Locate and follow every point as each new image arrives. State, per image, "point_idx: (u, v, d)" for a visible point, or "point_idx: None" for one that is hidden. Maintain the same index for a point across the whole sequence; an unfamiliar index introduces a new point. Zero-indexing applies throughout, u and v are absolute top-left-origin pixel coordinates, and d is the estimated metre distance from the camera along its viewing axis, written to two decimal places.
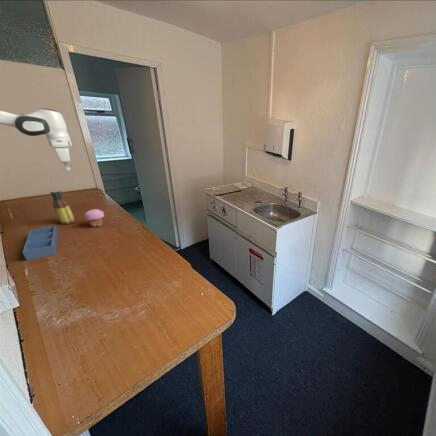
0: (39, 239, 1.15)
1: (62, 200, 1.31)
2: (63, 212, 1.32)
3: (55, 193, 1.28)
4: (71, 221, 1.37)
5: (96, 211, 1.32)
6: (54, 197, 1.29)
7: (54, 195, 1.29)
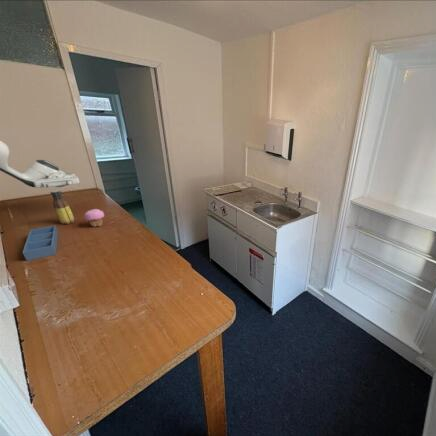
0: (39, 239, 1.15)
1: (62, 200, 1.31)
2: (63, 212, 1.32)
3: (55, 193, 1.28)
4: (71, 221, 1.37)
5: (96, 211, 1.32)
6: (54, 197, 1.29)
7: (54, 195, 1.29)
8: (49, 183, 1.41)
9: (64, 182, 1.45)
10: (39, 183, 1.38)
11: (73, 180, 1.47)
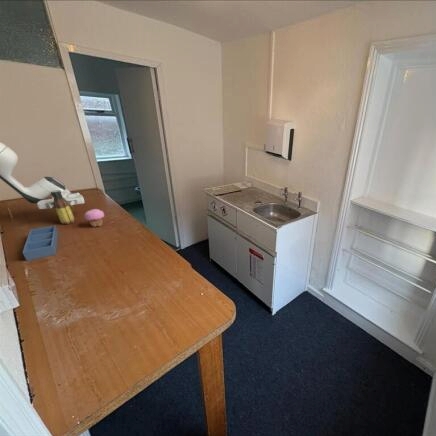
0: (39, 239, 1.15)
1: (62, 200, 1.31)
2: (63, 212, 1.32)
3: (55, 193, 1.28)
4: (71, 221, 1.37)
5: (96, 211, 1.32)
6: (54, 197, 1.29)
7: (54, 195, 1.29)
8: (53, 204, 1.34)
9: (68, 202, 1.38)
10: (42, 204, 1.31)
11: (78, 200, 1.40)
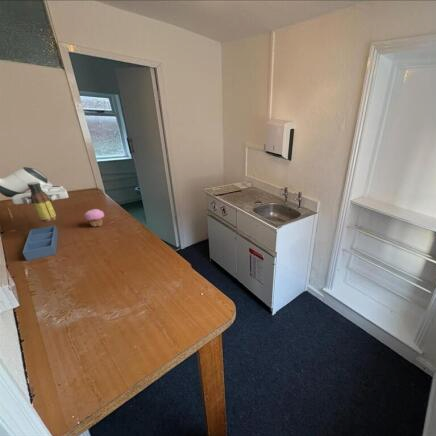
0: (39, 239, 1.15)
1: (41, 194, 1.14)
2: (43, 207, 1.15)
3: (33, 185, 1.11)
4: (52, 218, 1.19)
5: (96, 211, 1.32)
6: (32, 190, 1.12)
7: (32, 188, 1.11)
8: None
9: (50, 197, 1.21)
10: (18, 199, 1.13)
11: (61, 194, 1.23)
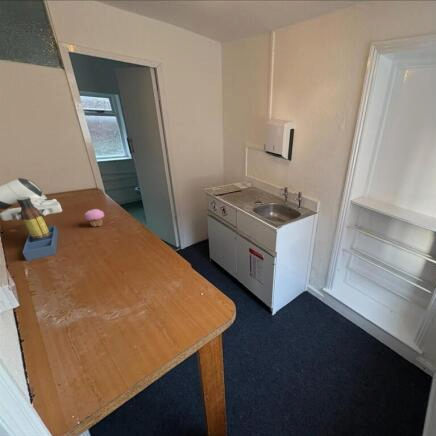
0: (39, 239, 1.15)
1: (32, 209, 1.06)
2: (34, 224, 1.07)
3: (23, 201, 1.03)
4: (45, 235, 1.11)
5: (96, 211, 1.32)
6: (22, 206, 1.04)
7: (21, 203, 1.03)
8: None
9: (42, 211, 1.13)
10: (7, 215, 1.05)
11: (53, 208, 1.15)
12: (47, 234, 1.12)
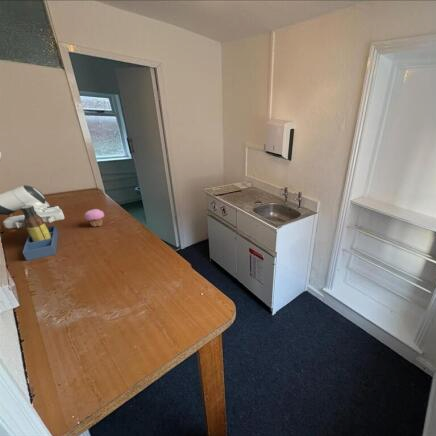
0: None
1: (36, 217, 1.08)
2: (37, 232, 1.09)
3: (26, 209, 1.05)
4: None
5: (96, 211, 1.32)
6: (25, 214, 1.05)
7: (25, 212, 1.05)
8: None
9: (44, 219, 1.14)
10: (10, 222, 1.07)
11: (56, 216, 1.16)
12: None
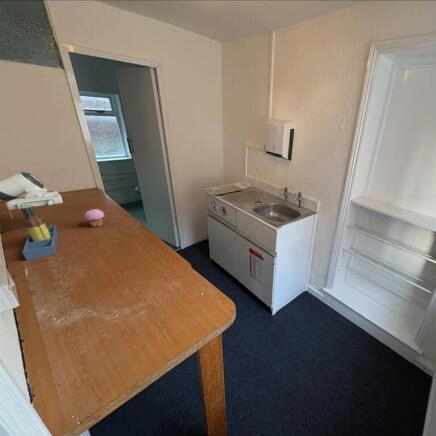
0: None
1: (35, 217, 1.08)
2: (37, 232, 1.09)
3: (26, 209, 1.05)
4: None
5: (96, 211, 1.32)
6: (25, 214, 1.05)
7: (25, 212, 1.05)
8: (25, 204, 1.18)
9: (44, 202, 1.23)
10: (12, 204, 1.15)
11: (55, 199, 1.25)
12: None
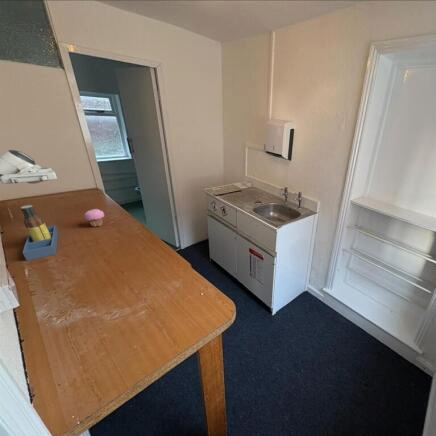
0: None
1: (35, 217, 1.08)
2: (37, 232, 1.09)
3: (26, 209, 1.05)
4: None
5: (96, 211, 1.32)
6: (25, 214, 1.05)
7: (25, 212, 1.05)
8: (19, 178, 1.19)
9: (38, 177, 1.23)
10: (6, 178, 1.16)
11: (49, 175, 1.25)
12: None
